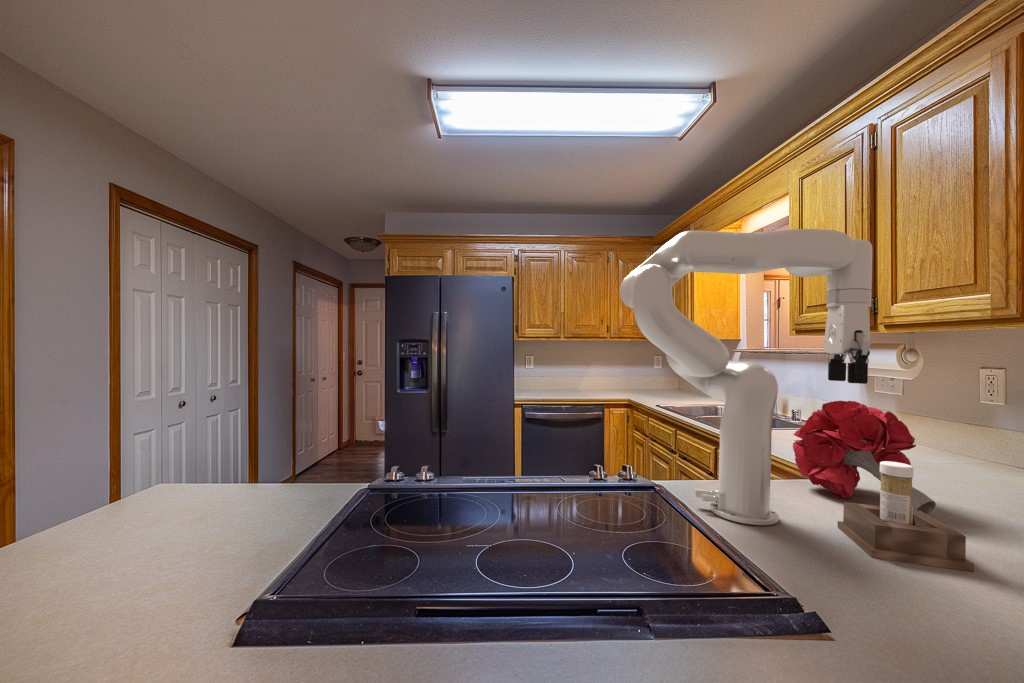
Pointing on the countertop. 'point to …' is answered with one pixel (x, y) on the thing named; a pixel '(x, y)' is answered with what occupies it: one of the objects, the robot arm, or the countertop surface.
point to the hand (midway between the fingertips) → (846, 381)
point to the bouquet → (852, 447)
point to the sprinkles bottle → (896, 492)
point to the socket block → (905, 538)
